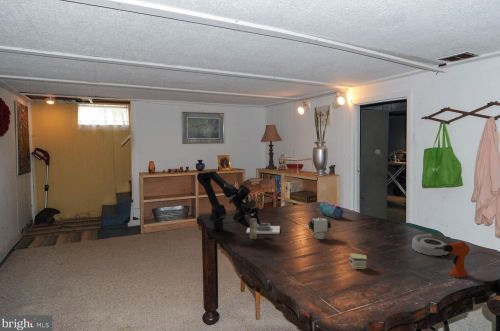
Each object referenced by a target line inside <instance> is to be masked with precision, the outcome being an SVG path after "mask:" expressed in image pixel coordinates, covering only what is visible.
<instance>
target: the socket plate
mask: <svg viewBox="0 0 500 331" xmlns="http://www.w3.org/2000/svg"><path fill="white" fill-rule="evenodd" d="M280 231H281V225H271V223H268V222H265V223H264V222H260V224H258V223H257V235H258V234H259V235H261V234H262V235H264V234H265V235H280V233H281V232H280ZM245 233H246V234H249V235H250V228H248V227H247V229H246V232H245Z"/></svg>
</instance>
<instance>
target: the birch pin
mask: <svg viewBox="0 0 500 331" xmlns="http://www.w3.org/2000/svg"><path fill="white" fill-rule="evenodd" d="M257 224H258V223H257V219H255V218H249V225H250V234H249V239H250V240H256V239H258V234H257Z"/></svg>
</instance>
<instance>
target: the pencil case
mask: <svg viewBox="0 0 500 331" xmlns="http://www.w3.org/2000/svg"><path fill="white" fill-rule="evenodd" d="M319 204H320V205H319ZM319 204H318V205H317V208H318V209H319V212H320V213H321V214H323V215H324V216H327V217H329V218H332V219H336V220H338V219H340V218H341V217H342V216H343V215H344V209H343V207H341V206H340V205H331V204H330V203H329V202H327V201H322V202H321V203H319Z"/></svg>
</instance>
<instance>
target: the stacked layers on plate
mask: <svg viewBox="0 0 500 331" xmlns="http://www.w3.org/2000/svg"><path fill="white" fill-rule="evenodd" d="M348 258H349V261H348V262H349V264H350V265H351V268H354V269H366V268H367V267H368V266H367V263H368V261H367V259H368V258H367V255H365V254H360V253H349V257H348ZM354 269H353V270H354ZM366 270H367V269H366Z"/></svg>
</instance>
